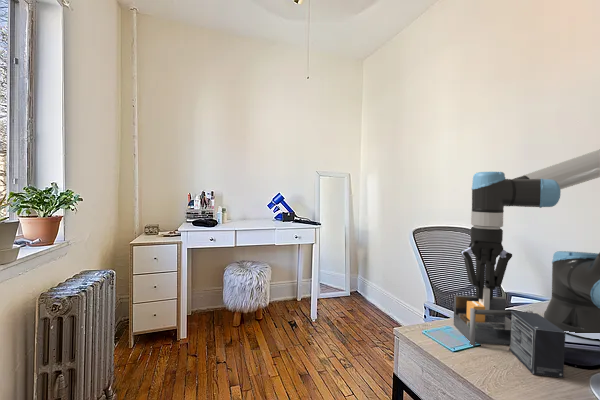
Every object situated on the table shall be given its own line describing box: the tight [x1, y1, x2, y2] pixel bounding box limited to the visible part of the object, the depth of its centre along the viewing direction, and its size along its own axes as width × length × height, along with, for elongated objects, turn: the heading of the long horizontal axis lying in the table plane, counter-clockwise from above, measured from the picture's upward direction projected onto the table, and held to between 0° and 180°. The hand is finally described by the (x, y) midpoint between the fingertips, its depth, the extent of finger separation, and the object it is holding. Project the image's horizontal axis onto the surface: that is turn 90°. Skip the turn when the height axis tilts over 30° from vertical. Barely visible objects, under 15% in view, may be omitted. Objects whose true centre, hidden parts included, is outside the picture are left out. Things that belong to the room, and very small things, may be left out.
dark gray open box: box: [453, 294, 511, 346], centre depth 82 cm, size 14×10×9 cm
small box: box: [509, 310, 567, 379], centre depth 68 cm, size 11×6×10 cm, turn 168°
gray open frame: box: [469, 308, 534, 347], centre depth 76 cm, size 15×1×10 cm, turn 84°
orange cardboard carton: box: [467, 301, 485, 322], centre depth 81 cm, size 3×4×5 cm
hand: (483, 310), depth 81 cm, fingers closed
